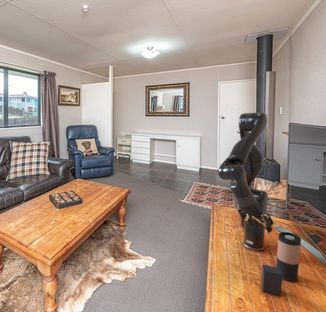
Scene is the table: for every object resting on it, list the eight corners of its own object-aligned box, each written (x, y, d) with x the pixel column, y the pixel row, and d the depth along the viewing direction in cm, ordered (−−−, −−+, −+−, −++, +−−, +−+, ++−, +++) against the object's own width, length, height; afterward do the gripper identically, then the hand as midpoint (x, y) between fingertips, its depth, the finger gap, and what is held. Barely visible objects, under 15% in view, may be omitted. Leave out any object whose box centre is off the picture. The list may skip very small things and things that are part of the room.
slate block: (261, 284, 101) (262, 264, 99) (278, 288, 98) (279, 267, 96) (262, 291, 97) (264, 270, 95) (280, 296, 94) (282, 274, 92)
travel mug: (277, 268, 110) (279, 230, 107) (298, 275, 105) (302, 235, 101) (274, 277, 105) (277, 236, 101) (296, 284, 99) (300, 242, 96)
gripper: (267, 199, 100) (281, 228, 103) (238, 194, 114) (251, 219, 116) (256, 209, 98) (271, 238, 101) (228, 203, 112) (242, 229, 115)
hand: (260, 228), depth 109 cm, fingers open, 8 cm apart
